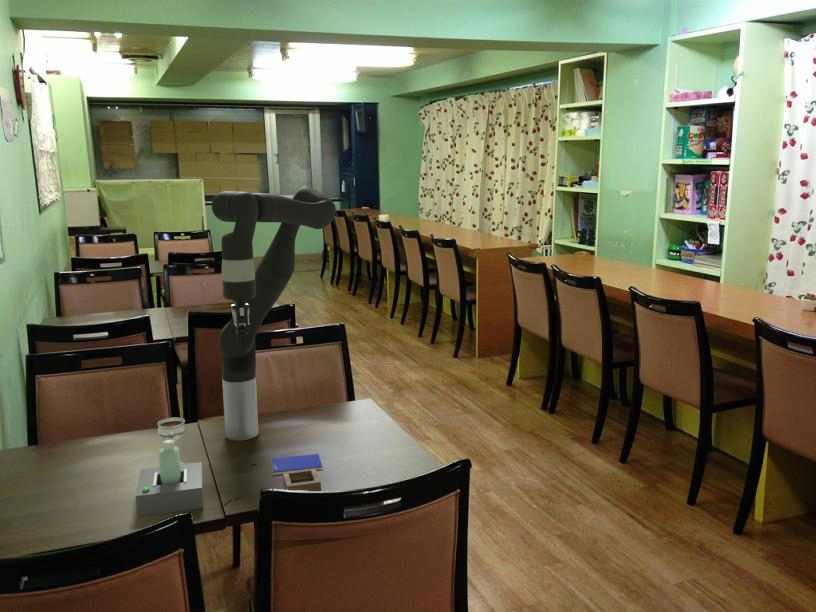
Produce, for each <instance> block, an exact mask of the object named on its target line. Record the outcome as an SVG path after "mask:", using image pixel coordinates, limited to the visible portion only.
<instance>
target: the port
mask: <svg viewBox="0 0 816 612" xmlns="http://www.w3.org/2000/svg"><path fill="white" fill-rule="evenodd" d="M180 473H181V483H173V484H165V485H161V476H160V466H158V467H157V466H156V467H150V468H149V467H148V468H141V469H140V472H139V476H138V482H137V488H136V492H135V502H136V503H135V504H136V513H137V518H139V516H141V517H145V516H146V517H147V515H148V516H154V515H162V514H168V513H169V514H170V513H176V512H183V511H184V512H186V511H191V510H196V509H198V510H199V509H204V476H203V462H202V461H200V462H191V463H190V462H189V463H184V464H181V465H180Z"/></svg>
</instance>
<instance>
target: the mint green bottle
mask: <svg viewBox="0 0 816 612" xmlns="http://www.w3.org/2000/svg"><path fill="white" fill-rule="evenodd" d="M158 462H159V467H160V476H161V485H165V484H173V483H181V473H180V462H181V460H180V448H179V446H175V443H174V441H173V440H166V441H164V440H163V442H162V447H161V448H160V449H159V450H158Z"/></svg>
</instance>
